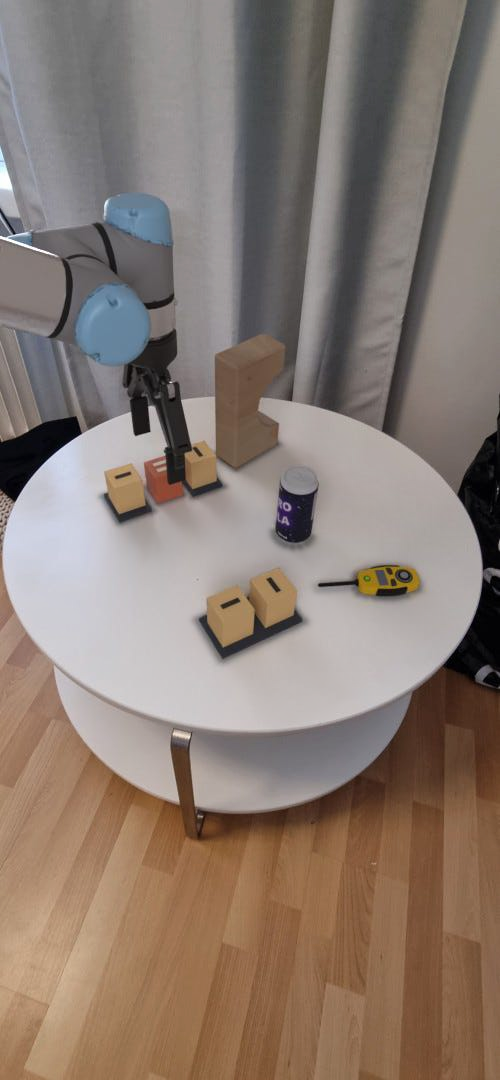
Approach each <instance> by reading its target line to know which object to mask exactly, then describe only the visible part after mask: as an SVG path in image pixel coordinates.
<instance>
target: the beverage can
mask: <svg viewBox="0 0 500 1080" xmlns="http://www.w3.org/2000/svg"><path fill="white" fill-rule="evenodd" d="M319 487H320V483H319V480H318V474H317V473H316V471H315V470H314V469H313V468H311V467H309V466H306V465H302V464H301V465H300V464H296V465H291V466H289V467H287V468H286V469H285V470H284V471H283V473H282V475H281V477H280V479H279V486H278V498H277V506H276V507H277V509H276V520H275V533H276V535H277V537H279V538H280V539H281V540H283V541H284V542H286V543H288V544H289V543H290V544H299V543H302V542H306V541H307V540H308V539H309V538H310V537H311V535H312V533H313V532H312V530H313V525H314V518H315V512H316V506H317V499H318V492H319Z"/></svg>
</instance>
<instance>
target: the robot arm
mask: <svg viewBox="0 0 500 1080" xmlns="http://www.w3.org/2000/svg"><path fill="white" fill-rule="evenodd" d="M103 207H104V208H103V209H104V213H103V220H100V221H99V220H98V221H95V222H92V223H86V224H78V225H71V226H61V227H54V228H47V229H39V230H36V229H30V230H29V231H26V232H22V233H17V234H12V235H8V236H7V237H4V236H1V235H0V327H1V328H5V329H9V330H13V331H17V332H22V333H26V334H30V335H34V336H37V337H38V336H39V337H43V338H47V339H51V340H54V341H59V342H61V343H66V344H71V345H74V346H77V347H78V349H79V350H80V351H81V352H82V353H83V354H84V355H85V356H87V357H88V358H89V359H91V360H92V361H93V362H95V363H97V364H98V365H101V366H104V367H111V368H115V367H121V366H123V375H122V382H121V384H122V387H123V389H124V390H125V389H127V391H126V395H127V397H128V398H129V406H130V407H129V408H130V415H131V423H132V434H133V435H134V436H135V437H138V436H141V435H145V434H149V433H152V431H151V422H150V412H149V411H150V410H149V404H150V405H151V406H152V407H154V409H155V412H156V415H157V418H158V421H159V424H160V428H161V431H162V434H163V437H164V440H165V444H166V446H165V447H164V450H163V453H164V454H165V455H164V456H166V469H167V482H168V484H169V485H171V484H174V483H177V482H181V481H184V480H186V473H185V453H188V452H191V451H192V446H191V444H192V443H191V438H190V434H189V428H188V425H187V420H186V415H185V412H184V407H183V402H182V396H181V386H180V383H179V381H178V380H175V381H171V380H172V377H171V373H170V371H169V369H168V367H169V365H170V364H172V362H174V361H175V359H176V358H177V357H178V334H177V333H178V332H177V330H176V325H177V322H176V321H177V320H176V307H177V305H178V300H177V298H176V297H175V282H174V281H175V279H174V251H173V250H174V244H175V243H174V239H173V230H172V221H171V216H170V208H169V207H168V205H167V204H166V202H165V201H164V200H162V199H161V198H160V197H158V196H157V195H152V194H148V193H142V192H125V193H120V194H117V195H115V196H110V197H108V199H107V200H106V201H105V202H104V206H103ZM156 397H158V398H156Z"/></svg>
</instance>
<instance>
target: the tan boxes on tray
mask: <svg viewBox="0 0 500 1080" xmlns="http://www.w3.org/2000/svg"><path fill="white" fill-rule="evenodd" d="M248 593H249V595H248V596H246V595H245V593H244V592H243V591H242V589H241V588H240V586H239V585H238V584H236V585H234V586H231V587H229V588H226V589H224V590H222V591H220V592H217V593H215V594H213V595H210V596H207V597H206V614H205V615H203V616H201V617H199V618H198V621H199V623H200V625H201V626H202V628H203V630H204V631H205V633H206V634H207V636H208V638H209V639H210V641H211V643H212V644H213V646H214V648H215V650H217V653H218V654H219V657H221V659H222V660H224V659H227V658H228V657H231V656H232V655H235V654H237V653H239V652H241V651H243V650H246V649H248V648H250V647H252V646H254V645H256V644H258V643H261V642H262V641H264V640H267V639H269V638H271V637H273V636H275V635H277V634H280V633H282V632H284V631H286V630H288V629H291V628H293V627H295V626H297V625H299V624H301V623H303V618H302V617H301V616H300V614H299V613H298V611H297V610H296V604H297V603H296V601H297V595H298V590H297V588H296V587H295V586H294V585H293V583H292V582H291V581H290V579H289V578H288V577H287V575H286V574H285V573H284V572H283V570H282V569H281V568H280V567H277V568H275V569H273V570H270V571H267V572H264V573H262V574H260V575H257V576H255V577H252V578H251V579H249V591H248Z"/></svg>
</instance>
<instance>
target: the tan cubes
mask: <svg viewBox="0 0 500 1080" xmlns="http://www.w3.org/2000/svg"><path fill="white" fill-rule="evenodd" d="M191 446H192V451H191V452H188V453H185V473H186V480H184V481H182V485H184V487H185V488H186V490H187V491H188V492H189V493H190V495H191V496H192V497H193V498H195V497H199V496H200V495H203V494H207V493H209V492H212V491H215V490H218V489H221V488H223V486H224V485H223V483H222V482H221V481H220V479H219V478H218V476H217V475H218V473H217V472H218V470H217V463H218V462H217V455H216V452H214V451H213V450H212V448H211V447H210V446H209V444H208V443H207V442H206V441H205V440H202V441H198V442H195V443H191ZM103 473H104V478H105V479H104V480H105V483H106V484H105V485H106V489H107V492H106V493H105V492H104V493H103V497H104V499H105V500H106V503H107V505H108V506H109V507H110V509H111V511H112V513H113V514H114V516H115V518H116V520H117V522H118V523H123V522H126V521H128V520H131V519H134V518H137V517H140V516H143V515H146V514H149V513H152V512H153V510H152V507H151V505H150V504H149V502H148V501H147V500H146V497H145V490H144V489H145V488H144V481H143V478H142V477H141V475H140V474H139V473H138V471H137V469H136V468H135V467H134V465H133V463H127V464H124V465H121V466H118V467H115V468H111V469H108V470H105V471H103Z"/></svg>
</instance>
